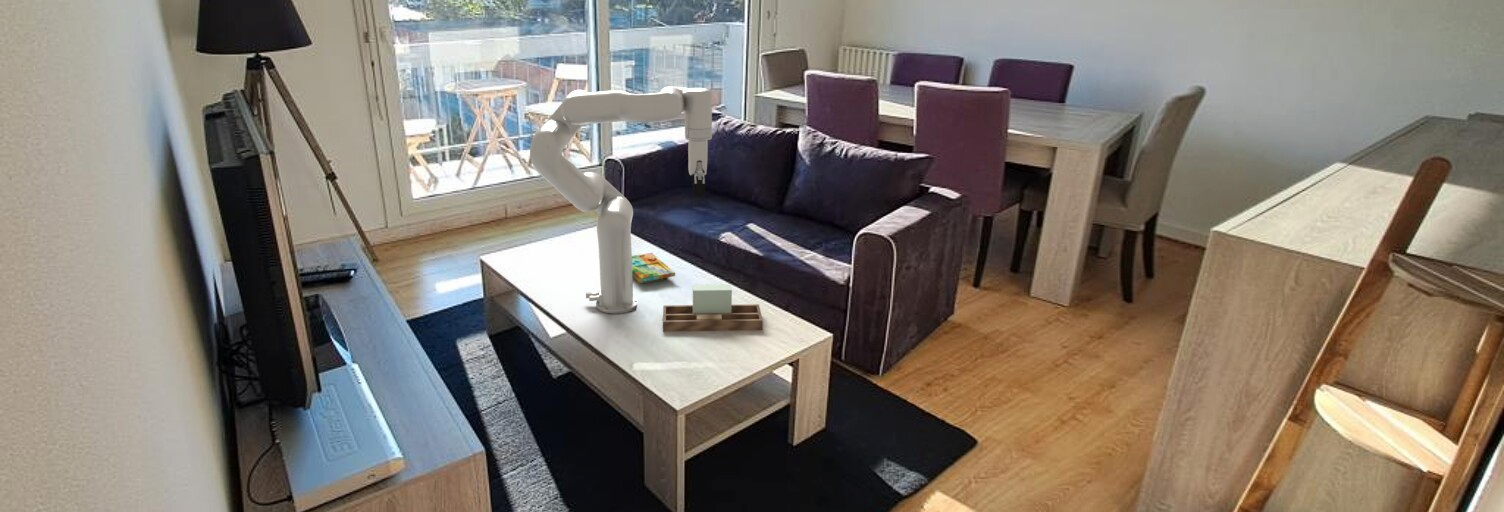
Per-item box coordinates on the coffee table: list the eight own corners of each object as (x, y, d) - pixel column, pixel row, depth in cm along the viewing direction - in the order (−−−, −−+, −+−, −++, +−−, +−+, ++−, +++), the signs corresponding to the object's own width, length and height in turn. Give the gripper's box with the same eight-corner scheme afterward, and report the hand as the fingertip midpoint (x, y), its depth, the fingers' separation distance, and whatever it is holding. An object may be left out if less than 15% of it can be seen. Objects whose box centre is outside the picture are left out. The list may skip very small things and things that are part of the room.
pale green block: (692, 322, 225) (693, 290, 221) (692, 316, 228) (692, 284, 225) (731, 321, 226) (731, 290, 222) (730, 315, 229) (730, 284, 226)
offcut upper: (696, 323, 220) (696, 318, 219) (696, 319, 222) (696, 314, 222) (721, 323, 221) (721, 318, 220) (721, 319, 223) (721, 314, 223)
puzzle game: (651, 250, 269) (675, 270, 253) (651, 262, 271) (675, 283, 254) (618, 255, 263) (641, 276, 247) (619, 268, 265) (641, 289, 249)
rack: (663, 335, 219) (662, 321, 217) (663, 318, 229) (663, 305, 228) (762, 333, 222) (762, 320, 220) (758, 317, 232) (758, 304, 230)
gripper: (684, 126, 227) (684, 183, 233) (685, 140, 211) (686, 200, 217) (709, 126, 227) (709, 183, 234) (713, 139, 211) (713, 200, 218)
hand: (698, 191), depth 225 cm, fingers open, 9 cm apart
